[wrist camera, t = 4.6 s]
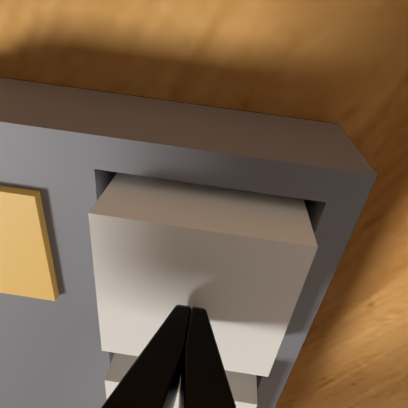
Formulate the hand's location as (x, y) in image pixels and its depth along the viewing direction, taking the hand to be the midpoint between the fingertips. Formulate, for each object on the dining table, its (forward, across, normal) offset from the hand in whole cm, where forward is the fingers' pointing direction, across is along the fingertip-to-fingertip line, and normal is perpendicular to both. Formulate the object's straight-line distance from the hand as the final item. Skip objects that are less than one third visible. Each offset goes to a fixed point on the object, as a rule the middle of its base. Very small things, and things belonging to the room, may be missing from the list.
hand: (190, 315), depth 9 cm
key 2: (+3, 0, 0) cm, 3 cm away
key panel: (+6, +3, +7) cm, 10 cm away
